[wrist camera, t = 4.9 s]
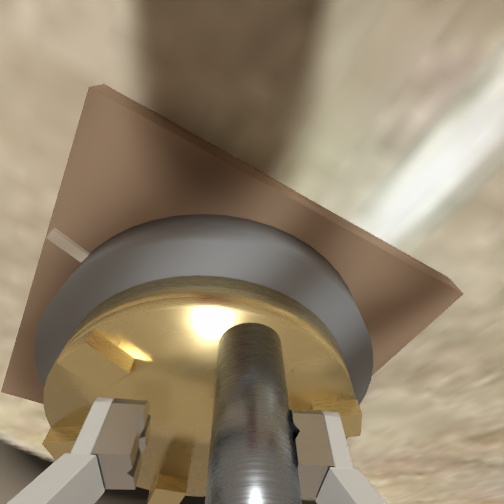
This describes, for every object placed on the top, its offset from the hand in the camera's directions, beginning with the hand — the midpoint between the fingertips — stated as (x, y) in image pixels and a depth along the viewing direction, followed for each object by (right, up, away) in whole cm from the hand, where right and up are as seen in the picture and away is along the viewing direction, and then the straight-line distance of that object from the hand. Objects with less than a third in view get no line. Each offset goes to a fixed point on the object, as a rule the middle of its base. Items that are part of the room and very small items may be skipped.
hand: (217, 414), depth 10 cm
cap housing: (-1, 0, +10) cm, 10 cm away
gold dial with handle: (-1, -2, +7) cm, 7 cm away
